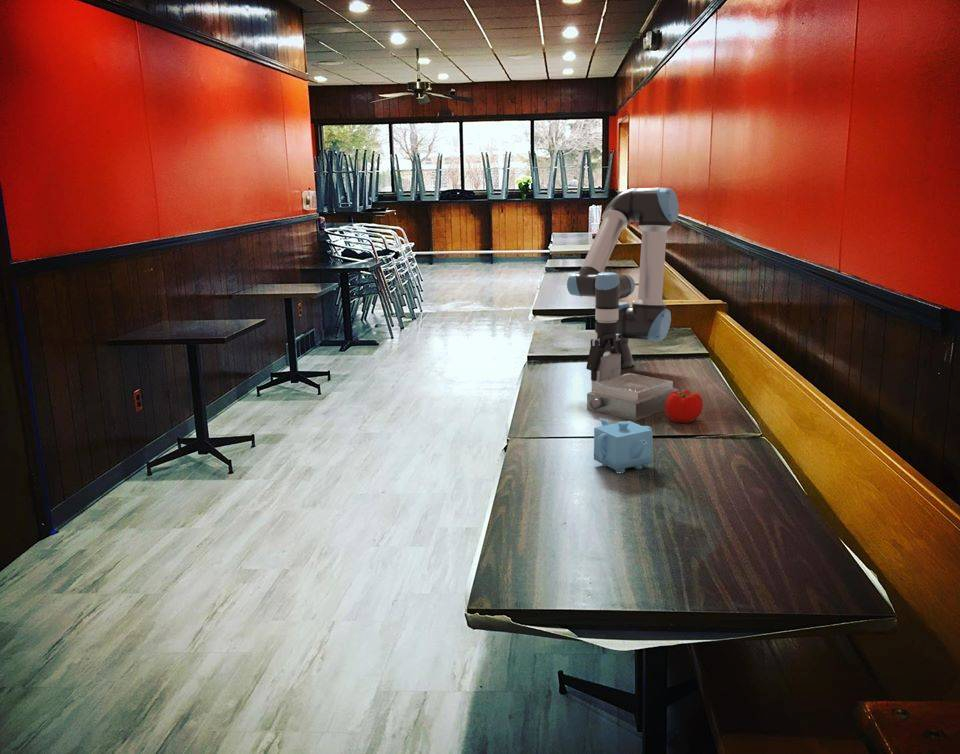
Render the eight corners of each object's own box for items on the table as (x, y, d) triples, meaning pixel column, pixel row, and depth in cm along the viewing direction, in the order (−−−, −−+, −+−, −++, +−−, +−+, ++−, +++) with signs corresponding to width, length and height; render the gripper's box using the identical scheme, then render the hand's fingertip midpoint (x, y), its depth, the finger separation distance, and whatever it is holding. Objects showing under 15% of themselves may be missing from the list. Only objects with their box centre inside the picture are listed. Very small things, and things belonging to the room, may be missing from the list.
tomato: (708, 419, 230) (709, 390, 228) (689, 428, 223) (690, 399, 221) (675, 413, 237) (676, 385, 235) (656, 421, 230) (657, 392, 228)
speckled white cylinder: (619, 386, 268) (620, 351, 265) (621, 394, 259) (622, 357, 256) (590, 386, 269) (591, 351, 266) (592, 394, 260) (592, 357, 257)
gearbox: (630, 394, 259) (630, 371, 257) (677, 404, 246) (678, 380, 244) (580, 411, 242) (580, 386, 240) (629, 423, 229) (629, 397, 227)
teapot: (618, 483, 185) (619, 437, 183) (574, 460, 201) (574, 417, 198) (671, 470, 192) (672, 425, 190) (625, 449, 208) (626, 407, 205)
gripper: (618, 314, 269) (617, 378, 274) (575, 324, 254) (574, 391, 259) (637, 317, 263) (635, 381, 269) (593, 327, 248) (593, 395, 254)
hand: (606, 386), depth 264 cm, fingers open, 10 cm apart
